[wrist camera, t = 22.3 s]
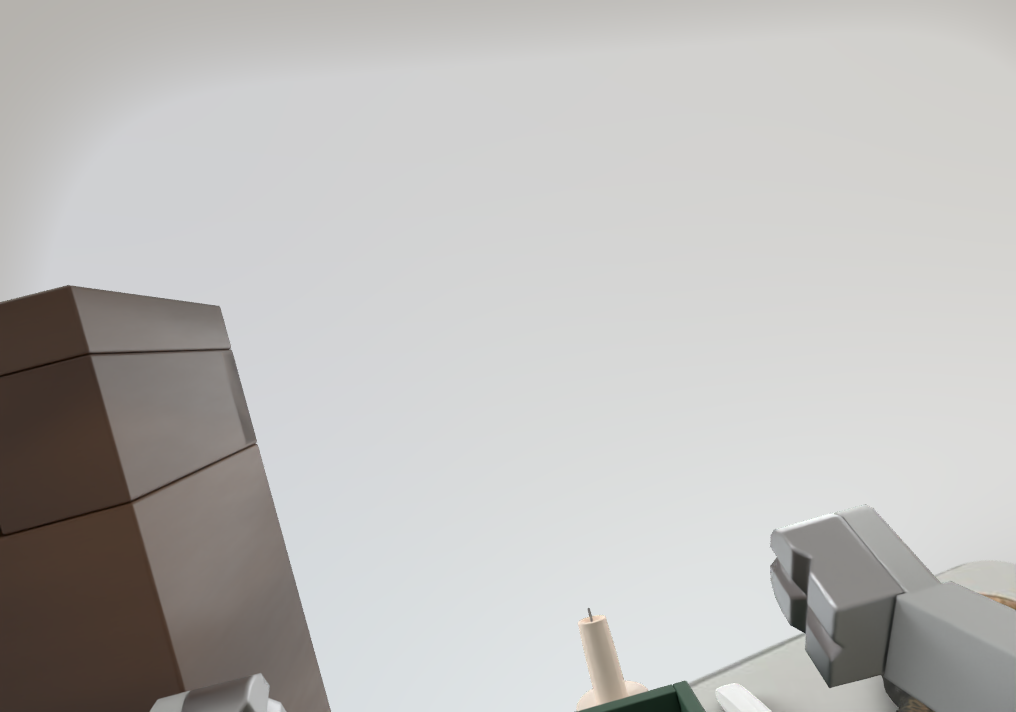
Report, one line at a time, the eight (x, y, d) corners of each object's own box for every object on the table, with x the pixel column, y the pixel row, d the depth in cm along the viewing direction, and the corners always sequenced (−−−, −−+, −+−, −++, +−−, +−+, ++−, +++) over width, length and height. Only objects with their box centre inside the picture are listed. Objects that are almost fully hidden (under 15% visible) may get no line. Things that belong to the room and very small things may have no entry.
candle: (587, 776, 39) (541, 598, 39) (679, 758, 39) (633, 578, 39) (591, 846, 34) (537, 642, 34) (697, 826, 34) (644, 618, 33)
